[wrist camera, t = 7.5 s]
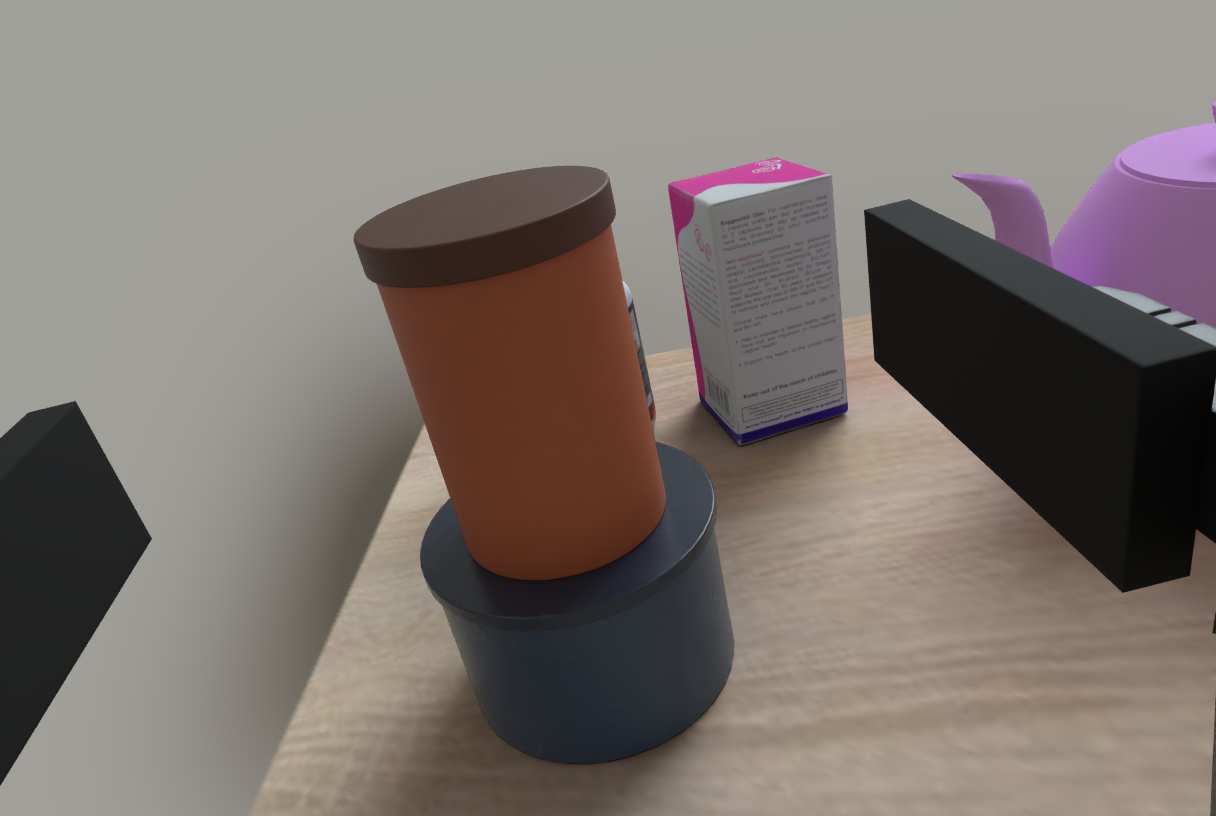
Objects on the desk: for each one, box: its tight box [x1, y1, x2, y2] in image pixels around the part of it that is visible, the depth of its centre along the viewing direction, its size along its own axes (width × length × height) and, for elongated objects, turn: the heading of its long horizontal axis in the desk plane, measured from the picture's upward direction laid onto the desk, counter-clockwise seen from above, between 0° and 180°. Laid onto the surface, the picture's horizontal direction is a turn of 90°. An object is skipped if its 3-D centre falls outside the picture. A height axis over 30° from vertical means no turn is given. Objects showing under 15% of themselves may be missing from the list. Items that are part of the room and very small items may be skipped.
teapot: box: [952, 100, 1216, 328], centre depth 32 cm, size 20×14×12 cm
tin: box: [420, 442, 734, 764], centre depth 28 cm, size 9×9×6 cm
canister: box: [354, 166, 666, 580], centre depth 25 cm, size 7×7×10 cm
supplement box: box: [668, 158, 848, 445], centre depth 40 cm, size 6×6×12 cm
